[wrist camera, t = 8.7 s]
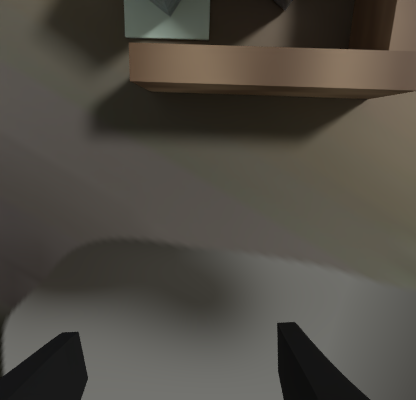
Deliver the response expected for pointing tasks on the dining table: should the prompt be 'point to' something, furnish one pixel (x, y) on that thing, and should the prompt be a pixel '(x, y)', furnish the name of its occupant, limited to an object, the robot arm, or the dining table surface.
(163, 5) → the bracket
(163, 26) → the pose pad
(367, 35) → the corner fence
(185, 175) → the dining table surface
